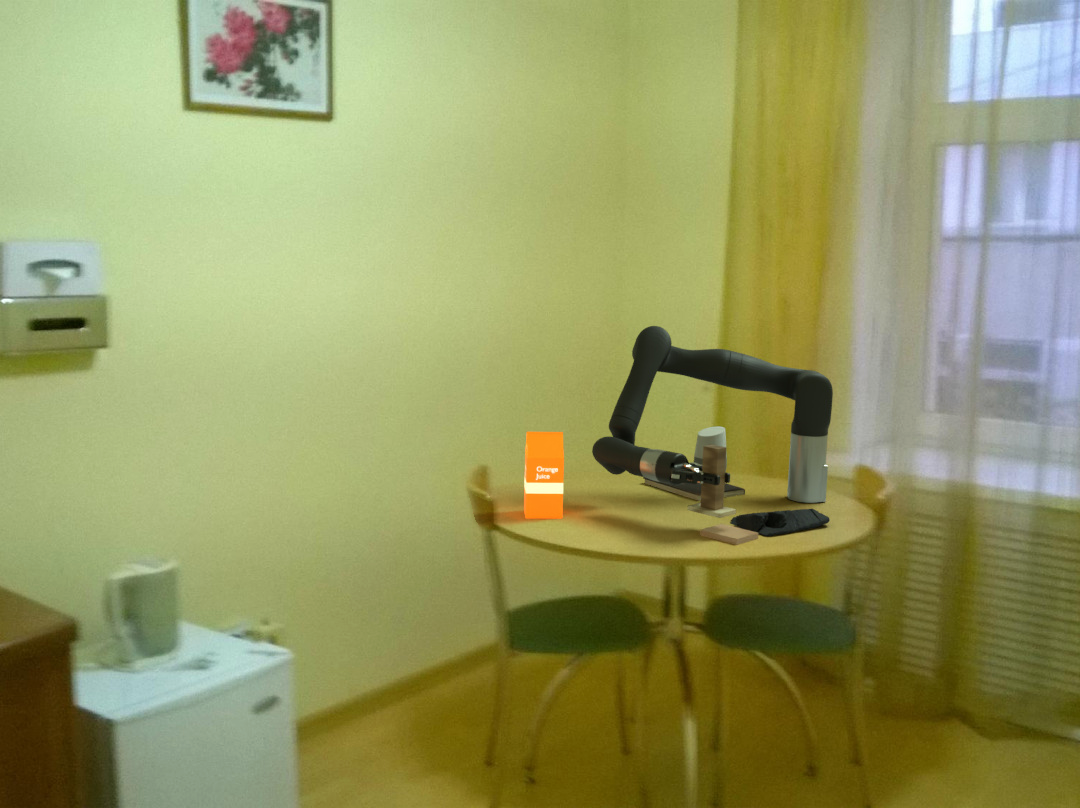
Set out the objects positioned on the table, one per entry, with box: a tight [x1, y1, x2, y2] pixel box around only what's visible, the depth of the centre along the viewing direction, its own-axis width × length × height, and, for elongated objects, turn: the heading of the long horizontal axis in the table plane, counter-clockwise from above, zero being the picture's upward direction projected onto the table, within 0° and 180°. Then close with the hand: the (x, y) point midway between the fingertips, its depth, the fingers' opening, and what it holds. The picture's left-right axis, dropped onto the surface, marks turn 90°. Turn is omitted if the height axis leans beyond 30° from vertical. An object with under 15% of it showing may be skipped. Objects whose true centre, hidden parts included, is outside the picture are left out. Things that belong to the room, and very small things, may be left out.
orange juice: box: [523, 431, 565, 519], centre depth 253 cm, size 8×9×20 cm
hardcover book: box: [642, 477, 746, 502], centre depth 285 cm, size 16×23×2 cm
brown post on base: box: [687, 445, 737, 519], centre depth 240 cm, size 9×6×15 cm, turn 44°
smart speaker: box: [693, 426, 728, 472], centre depth 301 cm, size 10×9×14 cm
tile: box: [699, 523, 759, 546], centre depth 238 cm, size 2×8×10 cm
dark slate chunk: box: [729, 508, 830, 537], centre depth 249 cm, size 15×22×5 cm
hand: (723, 479), depth 238 cm, fingers closed on brown post on base, 3 cm apart
